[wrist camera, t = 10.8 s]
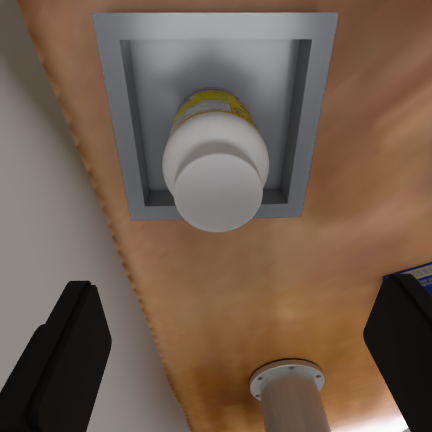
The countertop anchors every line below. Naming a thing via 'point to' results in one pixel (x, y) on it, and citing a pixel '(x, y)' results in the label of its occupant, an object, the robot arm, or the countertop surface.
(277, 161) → the gray rectangular tray
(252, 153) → the supplement bottle
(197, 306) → the countertop surface
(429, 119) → the countertop surface
